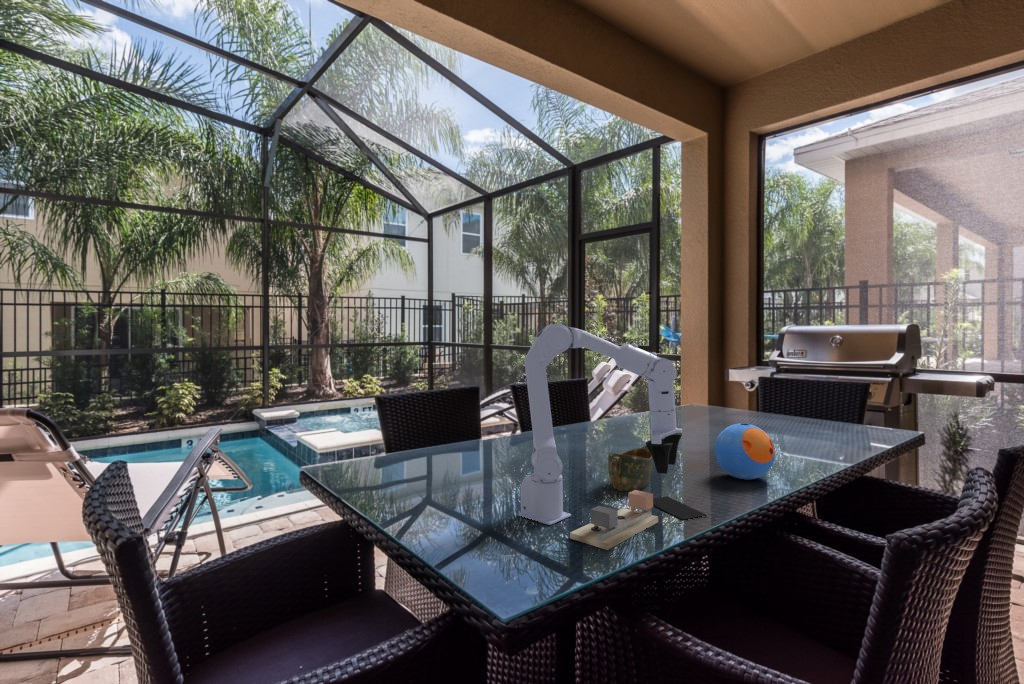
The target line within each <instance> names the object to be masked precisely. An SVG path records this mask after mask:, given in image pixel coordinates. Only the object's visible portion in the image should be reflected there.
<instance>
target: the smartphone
mask: <svg viewBox="0 0 1024 684" xmlns="http://www.w3.org/2000/svg"><path fill="white" fill-rule="evenodd" d="M653 508H655V509H658V510H659V511H662V512H663V513H666V514H667V513H668V515H669V514H670V515H669V516H671V515H672V516H671V517H673V516H674V518H675V517H676V519H677V518H678V519H677V520H679V519H680V520H679V521H682V520H686V521H689V520H688V519H692V520H694V519H693V518H698V517H702V516H706V517H707V514H705V513H703V512H702V511H699V510H697V509H696V508H693V507H691V506H689V505H687V504H685V503H682V502H680V501H678V500H676V499H674V498H672V497H670V496H661V497H653ZM698 519H699V518H698Z"/></svg>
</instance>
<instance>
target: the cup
mask: <svg viewBox="0 0 1024 684" xmlns="http://www.w3.org/2000/svg"><path fill="white" fill-rule="evenodd" d="M653 465H654V460H653V457H652V455H651V453H650V451H649V450H648V448H647V447H646V448H645V447H637V448H632V449H629V450H626V451H623V452H620V453H616V452H615V453H614V452H610V453H608V457H607V466H608V467H607V469H608V470H607V471H608V476H609V480H610V482H611V485H612V487H613V489H615V490H616V489H617V491H619V492H625V491H628V493H629V492H631V491H634V490H638V491H642V490H643V489H644V488H646V487H647V486H648V485H649V480H650V478H651V477H652V473H653Z"/></svg>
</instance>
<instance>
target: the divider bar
mask: <svg viewBox="0 0 1024 684" xmlns="http://www.w3.org/2000/svg"><path fill="white" fill-rule="evenodd" d="M639 512H640V513H638V514H636V515H634V516H632V517H630V518H628V519H626V520H624V521H622V522H620V523H618V525H617V526H615V527H613V528H611V529H606V530H604V531H602V532H600V533H598V534H597V538H598V540H600V541H604V540H606V539H608V538H610V537H612V536H614V535H616V534H618V533H620V532H621V531H623V530H625V529H627V528H629V527H631V526H633V525H635V524H637V523H639V522H640V521H642V520H644V519H646V518H648V517H650V516H651V515H652V510H651V509H648V510H642V511H639Z"/></svg>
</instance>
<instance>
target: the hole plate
mask: <svg viewBox="0 0 1024 684" xmlns="http://www.w3.org/2000/svg"><path fill="white" fill-rule="evenodd" d="M617 510H618V523H620V522H622V521H624V520H626V519H628V518H630V517H632V516H634V515H636V514H638V513H640V512H641V511H638V510H637V511H636V510H635V511H632V510H631V509H628V508H624V507H622V508H620V509H617ZM658 523H659V516H657V515H652V514H651V516H650V517H648V518H646V519H644V520H642V521H640V522H639V523H637V524H635V525H633V526H631V527H629V528H627V529H625V530H623V531H621V532H620V533H618V534H616V535H614V536H612V537H610V538H608V539H606V540H604V541H600V540H598V538H597V534H598V533H600V532H602V531H604V530H606V529H608V528H604V527H601V526H599V528H598V529H595V528H594V524H591V522H590V523H588V524H586V525H583V526H581V527H579V528H577V529H574V530H572V531H569V539H570V540H574V541H577V542H579V543H580V542H581V543H583V544H584V543H585V544H587V545H590V546H592V547H593V546H594V547H597V548H599V549H603V550H606V551H608V550H610V549H612V548H614V547H616V546H617V545H620V544H621V543H622V542H625V541H626V540H628V539H630V538H632V537H633V536H634V537H635V536H636V535H637V533H638V534H639V533H641V532H643V531H644V530H647V529H649V528H650V527H652V526H654V525H656V524H658ZM646 528H647V529H646ZM635 534H636V535H635Z"/></svg>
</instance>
